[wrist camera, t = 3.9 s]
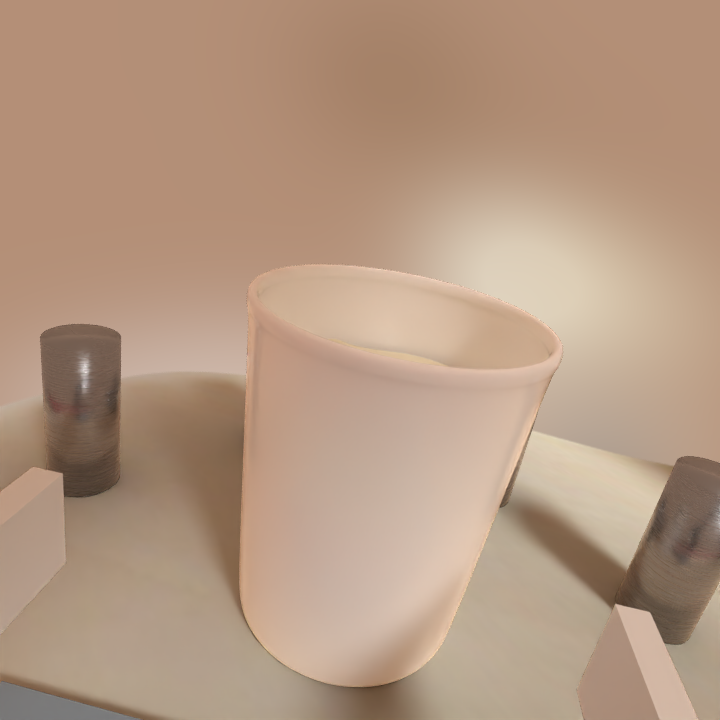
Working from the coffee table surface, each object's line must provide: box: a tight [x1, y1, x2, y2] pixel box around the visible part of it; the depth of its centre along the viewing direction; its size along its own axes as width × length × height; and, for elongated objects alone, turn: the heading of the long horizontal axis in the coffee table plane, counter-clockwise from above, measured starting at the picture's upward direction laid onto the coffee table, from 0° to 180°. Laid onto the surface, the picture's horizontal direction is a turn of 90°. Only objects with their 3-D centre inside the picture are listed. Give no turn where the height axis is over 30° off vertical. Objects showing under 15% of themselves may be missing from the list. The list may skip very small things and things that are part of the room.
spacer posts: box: [40, 324, 720, 644], centre depth 26 cm, size 29×10×7 cm, turn 81°
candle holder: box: [239, 264, 563, 687], centre depth 20 cm, size 10×10×12 cm
